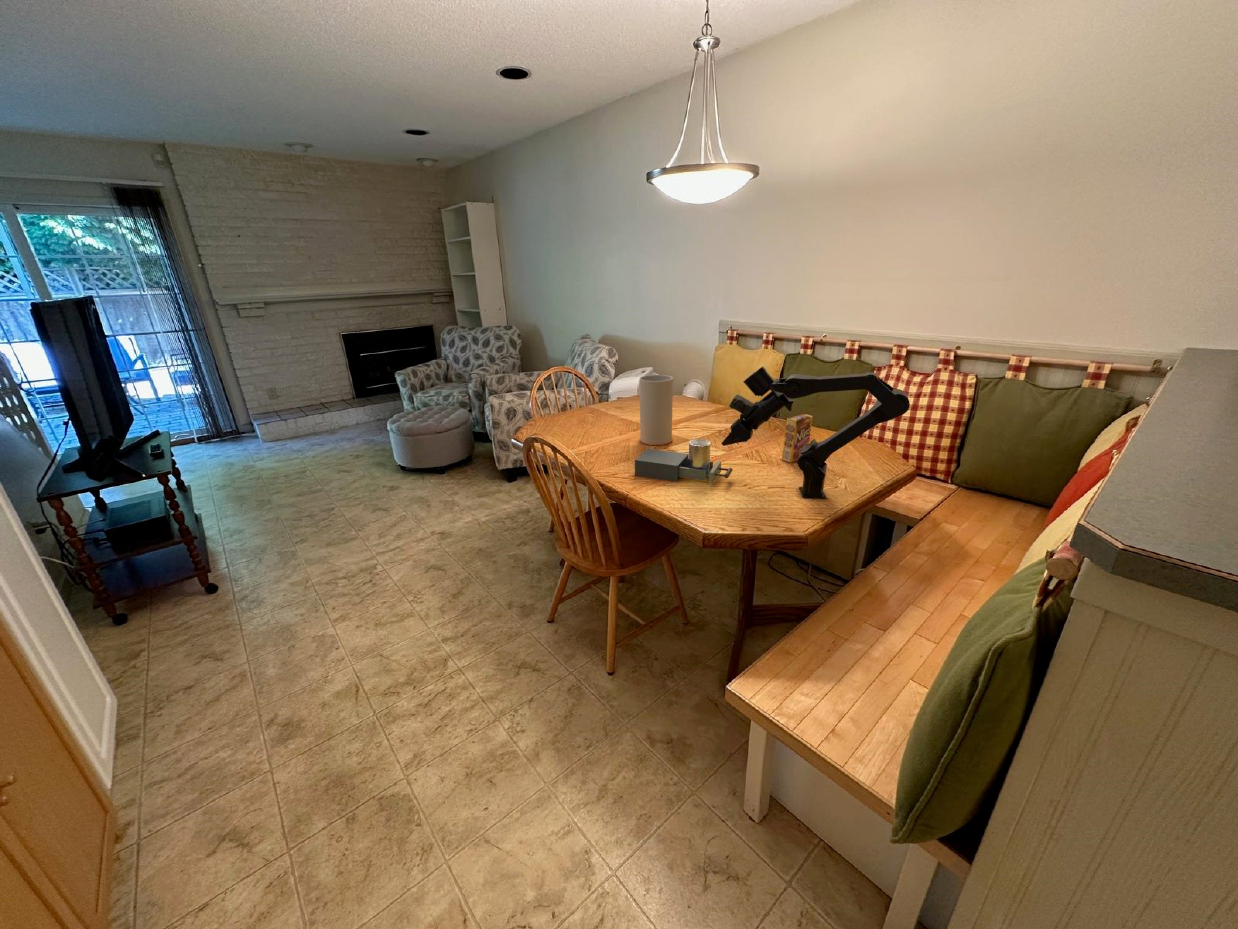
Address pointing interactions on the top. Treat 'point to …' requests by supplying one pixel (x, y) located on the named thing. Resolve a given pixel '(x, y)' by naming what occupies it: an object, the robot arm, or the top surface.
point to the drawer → (702, 472)
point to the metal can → (699, 454)
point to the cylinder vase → (656, 409)
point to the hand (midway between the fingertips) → (726, 439)
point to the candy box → (796, 436)
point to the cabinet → (659, 464)
